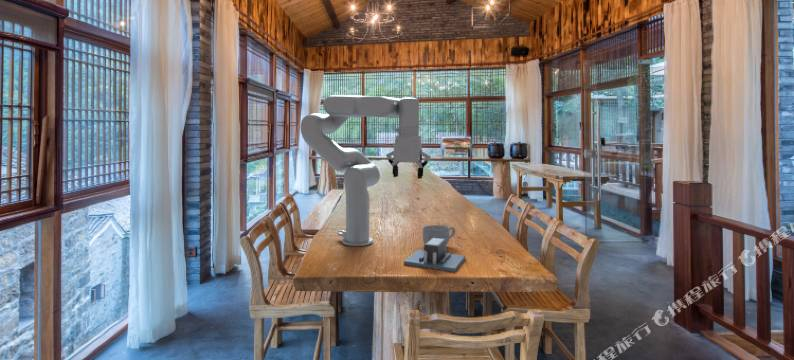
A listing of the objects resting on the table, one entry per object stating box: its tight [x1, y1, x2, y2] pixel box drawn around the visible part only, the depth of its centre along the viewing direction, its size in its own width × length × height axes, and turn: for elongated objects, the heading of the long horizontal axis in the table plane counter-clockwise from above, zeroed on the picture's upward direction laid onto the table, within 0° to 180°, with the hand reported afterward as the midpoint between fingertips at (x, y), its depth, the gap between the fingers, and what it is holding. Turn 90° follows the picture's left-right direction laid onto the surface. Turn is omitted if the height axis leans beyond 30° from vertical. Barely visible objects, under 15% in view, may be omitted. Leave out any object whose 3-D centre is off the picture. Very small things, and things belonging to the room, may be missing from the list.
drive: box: [423, 238, 447, 263], centre depth 145 cm, size 5×10×6 cm, turn 159°
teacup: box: [422, 224, 456, 246], centre depth 164 cm, size 14×11×8 cm
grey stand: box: [403, 249, 466, 273], centre depth 145 cm, size 18×15×5 cm
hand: (407, 177), depth 155 cm, fingers open, 9 cm apart
